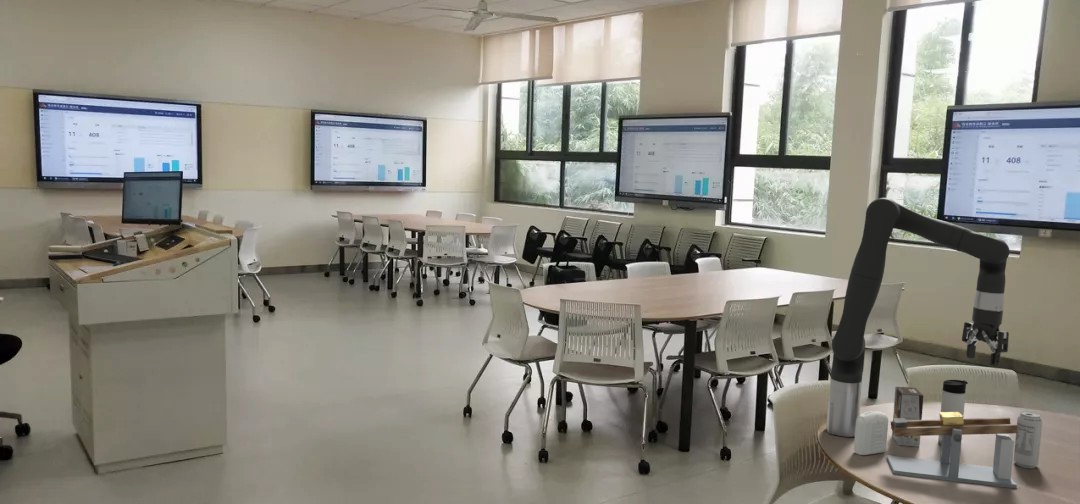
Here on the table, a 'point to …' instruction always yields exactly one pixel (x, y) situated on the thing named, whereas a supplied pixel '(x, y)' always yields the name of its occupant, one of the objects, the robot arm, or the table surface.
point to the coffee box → (907, 412)
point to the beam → (969, 428)
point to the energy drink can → (1028, 439)
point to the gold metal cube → (951, 419)
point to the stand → (961, 472)
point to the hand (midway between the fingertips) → (982, 361)
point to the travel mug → (953, 398)
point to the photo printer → (871, 433)
